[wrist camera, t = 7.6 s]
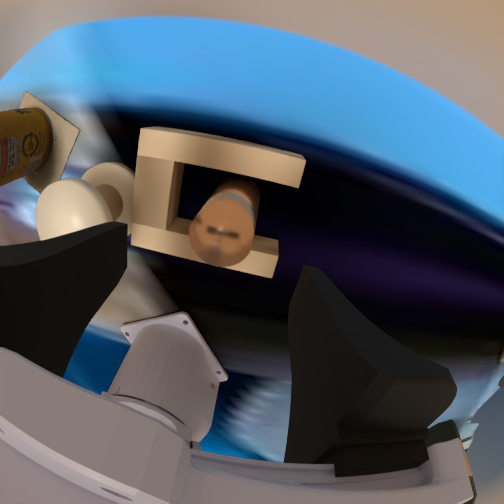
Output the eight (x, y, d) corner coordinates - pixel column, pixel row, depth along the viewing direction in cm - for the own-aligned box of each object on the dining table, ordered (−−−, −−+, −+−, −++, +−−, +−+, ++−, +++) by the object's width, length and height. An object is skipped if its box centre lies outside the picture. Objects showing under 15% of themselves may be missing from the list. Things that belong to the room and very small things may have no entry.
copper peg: (252, 169, 18) (241, 198, 12) (265, 210, 20) (261, 258, 13) (210, 182, 19) (179, 217, 13) (224, 222, 20) (202, 272, 14)
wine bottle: (413, 447, 37) (434, 572, 11) (415, 432, 34) (441, 577, 7) (451, 431, 35) (480, 552, 9) (458, 413, 32) (494, 552, 5)
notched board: (301, 155, 18) (306, 160, 15) (272, 260, 21) (271, 278, 19) (156, 126, 17) (141, 128, 15) (144, 230, 21) (131, 244, 19)
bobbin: (159, 220, 20) (123, 257, 15) (103, 244, 22) (63, 281, 16) (126, 148, 18) (77, 163, 13) (73, 181, 19) (24, 205, 14)
